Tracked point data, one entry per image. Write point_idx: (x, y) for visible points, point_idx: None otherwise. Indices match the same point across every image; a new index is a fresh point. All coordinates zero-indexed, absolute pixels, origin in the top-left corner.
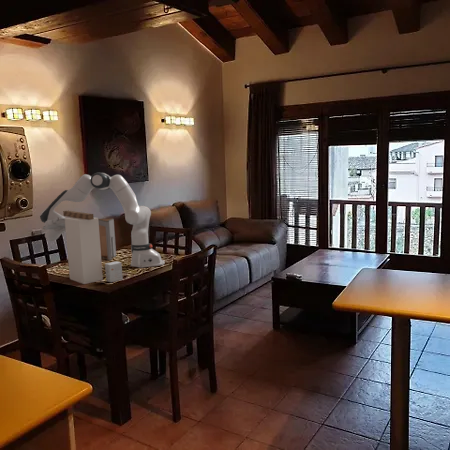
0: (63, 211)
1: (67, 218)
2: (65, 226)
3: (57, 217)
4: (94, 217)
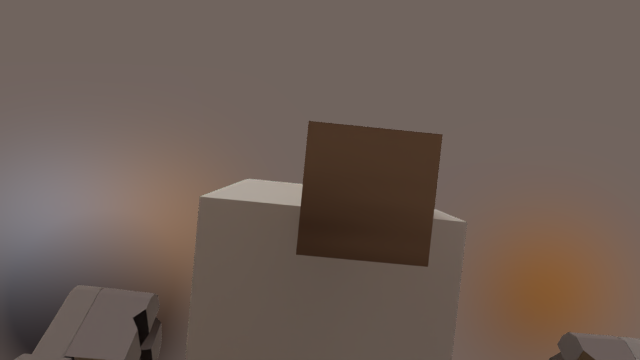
0: (437, 143)
1: (442, 213)
2: (453, 329)
3: (607, 336)
4: (242, 181)
